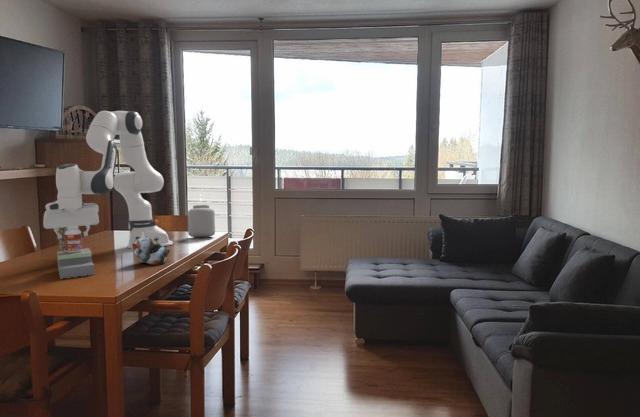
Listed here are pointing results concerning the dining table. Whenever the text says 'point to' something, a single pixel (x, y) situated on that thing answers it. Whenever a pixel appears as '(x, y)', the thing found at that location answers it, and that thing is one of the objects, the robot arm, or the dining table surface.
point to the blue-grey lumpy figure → (150, 251)
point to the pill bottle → (73, 239)
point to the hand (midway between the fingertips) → (73, 237)
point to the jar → (201, 221)
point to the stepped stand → (75, 263)
